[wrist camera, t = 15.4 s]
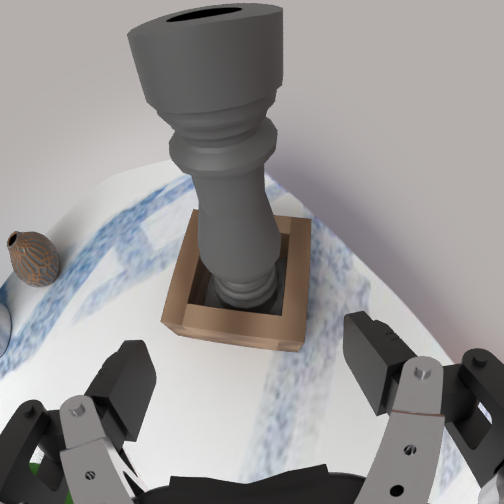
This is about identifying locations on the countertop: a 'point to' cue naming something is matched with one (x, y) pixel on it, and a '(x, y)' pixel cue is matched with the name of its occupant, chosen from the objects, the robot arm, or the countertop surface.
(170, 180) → the countertop surface
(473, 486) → the countertop surface
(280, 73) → the candle holder
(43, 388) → the countertop surface
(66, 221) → the countertop surface
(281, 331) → the socket block
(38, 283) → the vase
